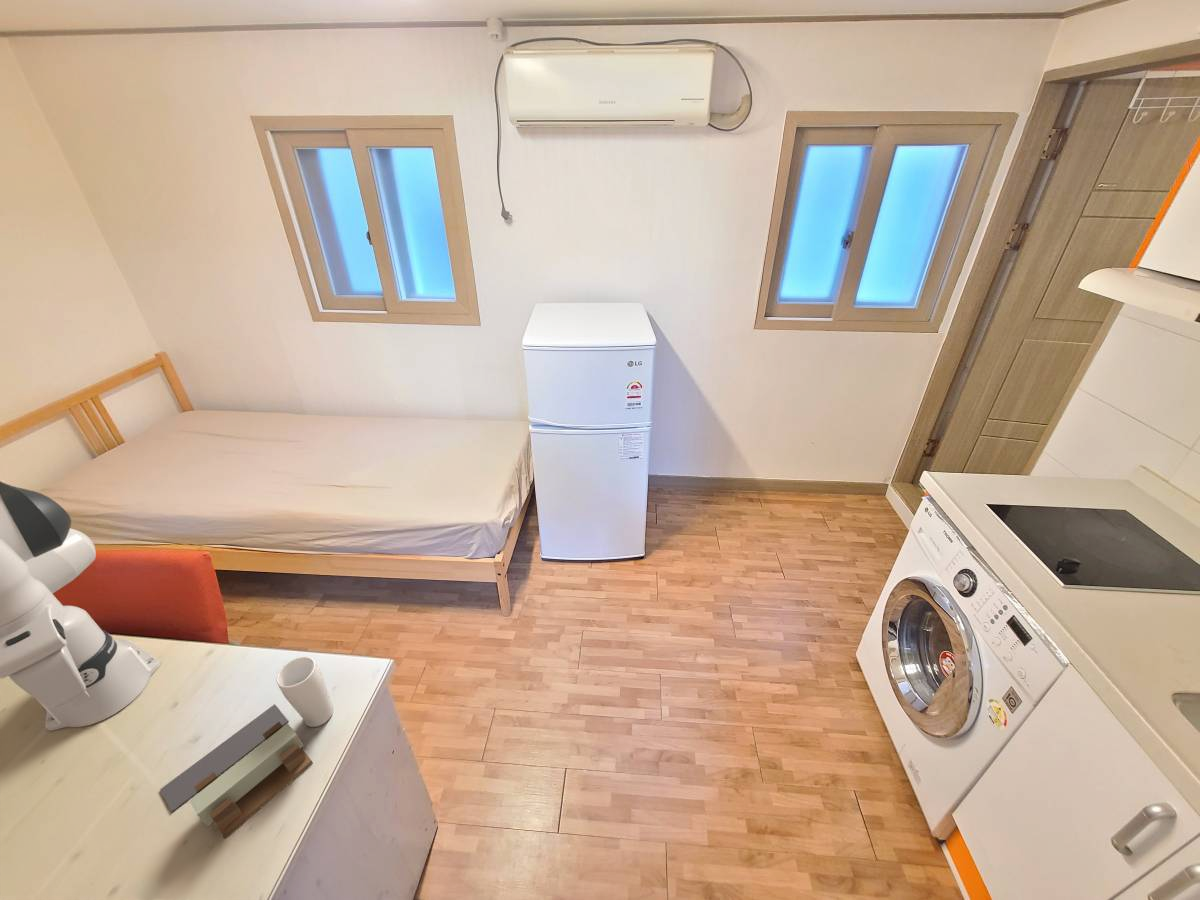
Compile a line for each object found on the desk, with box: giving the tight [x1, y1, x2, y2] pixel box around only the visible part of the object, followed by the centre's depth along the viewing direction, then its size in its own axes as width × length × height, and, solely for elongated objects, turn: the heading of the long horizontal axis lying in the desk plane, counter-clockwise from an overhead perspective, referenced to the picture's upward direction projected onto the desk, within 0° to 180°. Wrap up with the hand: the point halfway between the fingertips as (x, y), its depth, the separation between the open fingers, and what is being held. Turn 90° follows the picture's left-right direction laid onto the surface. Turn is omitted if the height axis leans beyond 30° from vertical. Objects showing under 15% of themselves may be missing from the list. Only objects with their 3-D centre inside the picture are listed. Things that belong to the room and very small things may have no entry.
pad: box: [159, 703, 289, 813], centre depth 94 cm, size 6×20×1 cm, turn 144°
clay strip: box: [188, 722, 304, 826], centre depth 87 cm, size 16×4×4 cm, turn 143°
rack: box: [194, 722, 313, 839], centre depth 88 cm, size 8×15×6 cm, turn 144°
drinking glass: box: [276, 656, 334, 728], centre depth 96 cm, size 7×7×15 cm
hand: (74, 682), depth 74 cm, fingers open, 8 cm apart
